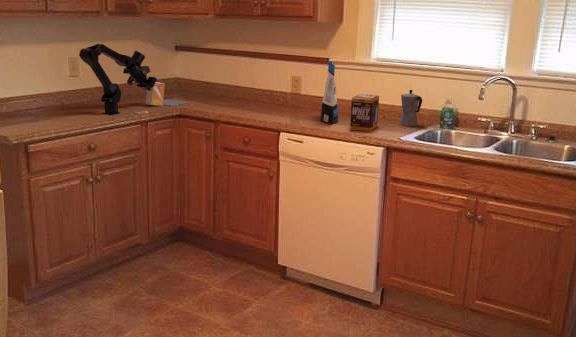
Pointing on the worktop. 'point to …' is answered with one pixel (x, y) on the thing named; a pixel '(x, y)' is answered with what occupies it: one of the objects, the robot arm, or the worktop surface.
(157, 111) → the worktop surface
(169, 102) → the mat
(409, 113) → the coffeepot
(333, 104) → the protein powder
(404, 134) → the worktop surface
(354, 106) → the supplement box
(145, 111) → the coaster
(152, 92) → the small box
